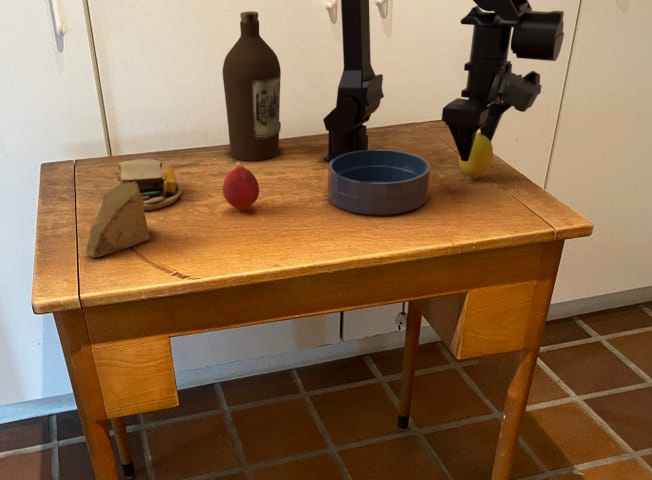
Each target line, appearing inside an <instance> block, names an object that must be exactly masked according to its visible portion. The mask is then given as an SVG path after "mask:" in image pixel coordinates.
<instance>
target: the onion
mask: <svg viewBox="0 0 652 480" xmlns="http://www.w3.org/2000/svg"><path fill="white" fill-rule="evenodd" d="M222 195H223V197H224V199H225V200H226V202H227V203H228V205H231V206H232V207H233V208H235V210H237V211H239V212H244V211H246V210H247V209H248V208H250V207H252V206H253V205H254V203H255V202H256V201H257V200H258V199H259V196H260V185H259V182H258V180H257V178H256V176H255V175H254V174H253V173H252V172H251V170H249V169H248V168H246V167H244V166H243V165H242V164H241V163H240V162H239V161H238V162H237V161H236V163H235V167H234V168H233V169H232V170H230V171H229V173H228V174H227V175H226V176H225V178H224V180H223V183H222Z"/></svg>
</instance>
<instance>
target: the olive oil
mask: <svg viewBox="0 0 652 480" xmlns="http://www.w3.org/2000/svg"><path fill="white" fill-rule="evenodd" d="M239 15H240V21H239V27H240V29H239V30H240V36H239V38H238V39H237V41H236V42H235V43H234V44H233V46H232V47H231V48H230V50H229V51H228V52H227V54H226V55H225V57H224V60H223V65H222V83H223V88H224V89H223V90H224V100H225V108H226V119H227V129H228V140H229V151H230V155H231V157H233V158H234V159H237V160H241V161H245V162H247V161H248V162H258V161H265V160H270V159H272V158H275V157H276V156H277V155H279V152H280V132H281V130H282V129H281V127H282V123H281V121H280V110H281V109H280V108H281V107H280V106H281V79H282V78H281V76H282V75H281V74H282V73H281V70H282V69H281V64H280V61H279V58H278V55H277V54H276V52H275V51H274V50H273V49H272V48H271V46H270V45H268V43H267V42H266V41H265V40H264V39H263V37H262V36H261V34H260V20H259V12H258V11H255V10H253V11H251V10H250V11H249V10H248V11H243V12H240V13H239Z"/></svg>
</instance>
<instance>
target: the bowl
mask: <svg viewBox="0 0 652 480" xmlns="http://www.w3.org/2000/svg"><path fill="white" fill-rule="evenodd" d="M430 164H431V163H430V162H429V161H428V160H426V159H425V158H424V157H422V156H421V155H417V154H414V153H411V152H408V151H402V150H395V149H385V148H379V149H378V148H377V149H373V148H371V149H368V150H359V151H354V152H349V153H345V154H342V155H339V156H337V157H336V158H334V159H332V160H331V161H330V162H328V169H327V170H328V171H327V173H328V175H327V198H328V200H329V201H330V203H332V204H333V205H334V206H336V207H338V208H340V209H342V210H344V211H348V212H351V213H354V214H358V215H359V214H360V215H365V216H392V215H399V214H405V213H408V212H410V211H414V210H415V209H418V208H420V207H421V206H422V205H423V204H425V203H426V202H427V199H428V197H429V187H430V178H431V177H430V176H431V165H430Z"/></svg>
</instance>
